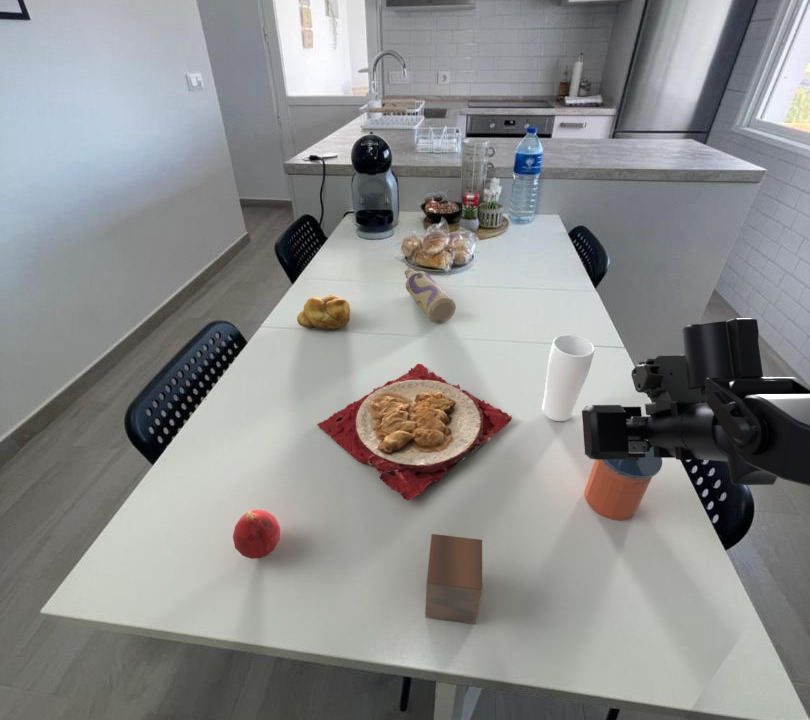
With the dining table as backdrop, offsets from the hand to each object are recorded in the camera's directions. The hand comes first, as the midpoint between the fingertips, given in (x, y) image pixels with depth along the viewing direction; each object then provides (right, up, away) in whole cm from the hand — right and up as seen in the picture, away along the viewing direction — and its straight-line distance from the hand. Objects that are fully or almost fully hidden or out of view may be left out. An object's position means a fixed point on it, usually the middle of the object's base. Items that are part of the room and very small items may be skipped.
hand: (631, 431), depth 60 cm
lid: (0, -3, +1) cm, 3 cm away
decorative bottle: (-25, +25, +58) cm, 67 cm away
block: (-25, -19, -5) cm, 32 cm away
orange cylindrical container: (0, -11, +7) cm, 13 cm away
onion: (-50, -16, 0) cm, 52 cm away
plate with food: (-29, -2, +20) cm, 35 cm away
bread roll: (-50, +18, +49) cm, 72 cm away
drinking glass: (-3, 0, +22) cm, 22 cm away
